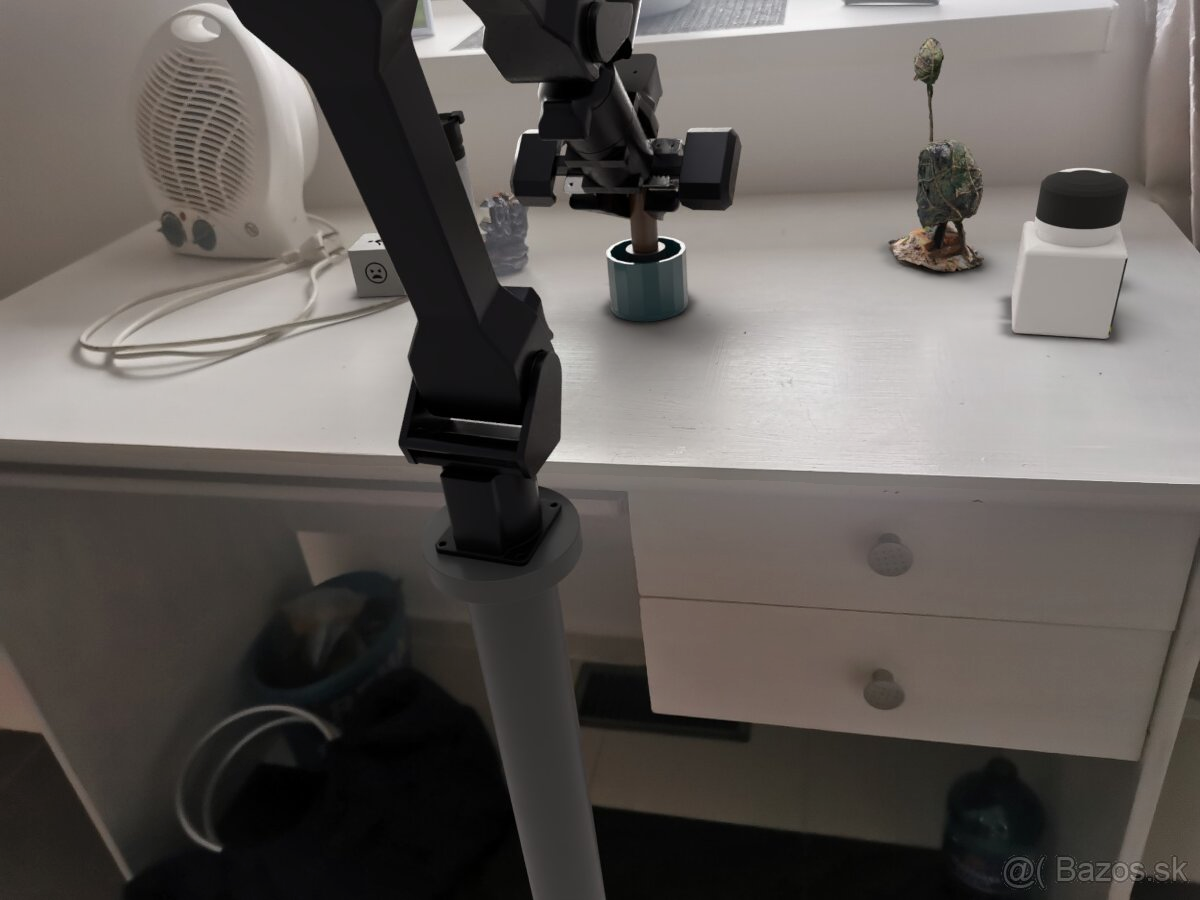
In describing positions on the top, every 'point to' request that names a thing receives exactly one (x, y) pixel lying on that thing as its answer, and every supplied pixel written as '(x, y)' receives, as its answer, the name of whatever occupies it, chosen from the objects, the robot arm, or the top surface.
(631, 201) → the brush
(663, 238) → the beaker
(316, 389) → the top surface
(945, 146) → the plant with pod
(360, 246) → the dice cube
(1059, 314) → the medicine bottle
